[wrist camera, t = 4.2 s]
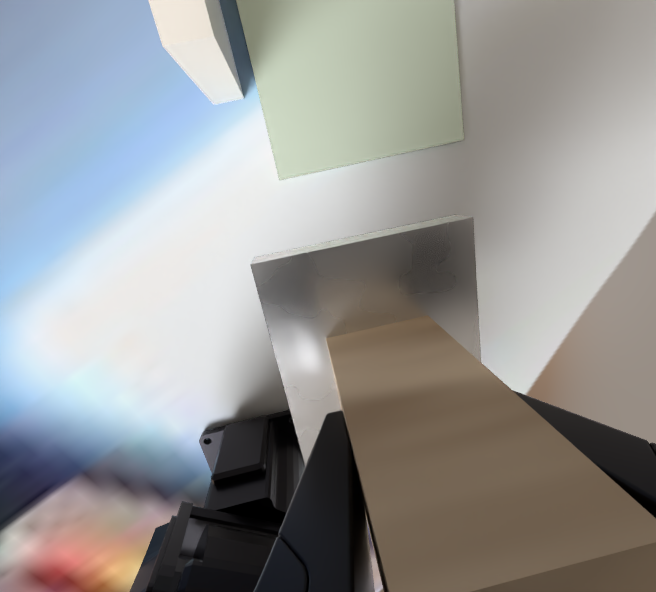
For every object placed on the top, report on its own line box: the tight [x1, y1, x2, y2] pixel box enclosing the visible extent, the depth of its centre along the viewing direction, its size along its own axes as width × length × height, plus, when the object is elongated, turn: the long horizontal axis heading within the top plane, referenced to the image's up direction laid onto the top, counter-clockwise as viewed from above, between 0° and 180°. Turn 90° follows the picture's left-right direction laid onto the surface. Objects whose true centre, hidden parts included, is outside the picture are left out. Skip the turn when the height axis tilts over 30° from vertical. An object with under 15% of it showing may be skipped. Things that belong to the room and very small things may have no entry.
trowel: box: [250, 215, 656, 592], centre depth 7 cm, size 8×6×8 cm
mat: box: [236, 0, 464, 180], centre depth 15 cm, size 14×10×1 cm
